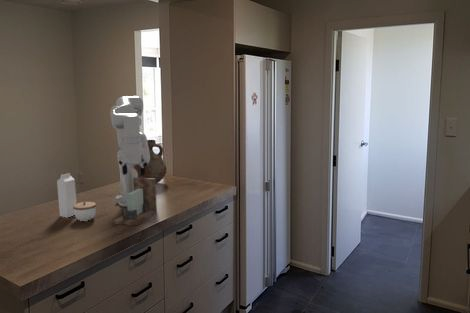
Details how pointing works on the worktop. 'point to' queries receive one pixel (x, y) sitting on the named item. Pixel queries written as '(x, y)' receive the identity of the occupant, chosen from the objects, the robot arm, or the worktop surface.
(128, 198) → the door
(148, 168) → the jug
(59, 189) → the milk
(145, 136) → the robot arm
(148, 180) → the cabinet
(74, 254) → the worktop surface
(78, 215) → the lidded jar
